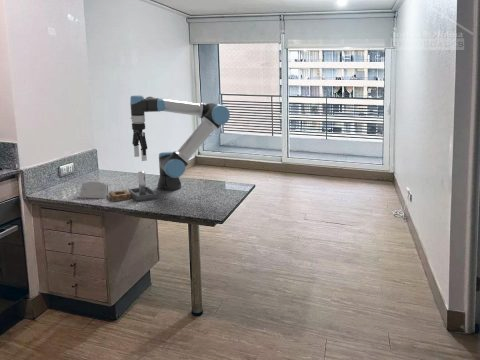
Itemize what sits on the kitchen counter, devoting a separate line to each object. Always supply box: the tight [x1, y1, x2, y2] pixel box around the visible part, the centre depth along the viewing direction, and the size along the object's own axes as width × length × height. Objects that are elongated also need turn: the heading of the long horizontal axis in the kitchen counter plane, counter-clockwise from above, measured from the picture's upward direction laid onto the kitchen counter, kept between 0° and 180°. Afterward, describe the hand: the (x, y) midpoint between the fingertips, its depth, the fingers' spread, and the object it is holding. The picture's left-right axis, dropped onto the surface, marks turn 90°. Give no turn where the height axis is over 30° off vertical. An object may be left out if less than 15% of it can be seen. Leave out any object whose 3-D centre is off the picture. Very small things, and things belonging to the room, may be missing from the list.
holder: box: [108, 189, 132, 202], centre depth 272 cm, size 10×10×3 cm
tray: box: [128, 186, 158, 202], centre depth 275 cm, size 12×18×3 cm, turn 29°
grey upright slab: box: [79, 180, 109, 199], centre depth 276 cm, size 17×5×10 cm, turn 87°
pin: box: [137, 170, 147, 196], centre depth 274 cm, size 4×4×14 cm
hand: (140, 158), depth 270 cm, fingers open, 13 cm apart
